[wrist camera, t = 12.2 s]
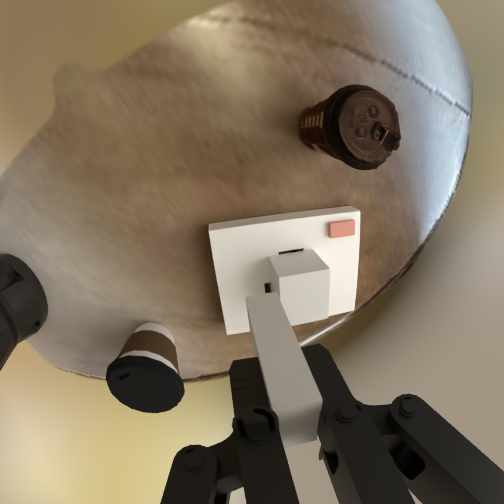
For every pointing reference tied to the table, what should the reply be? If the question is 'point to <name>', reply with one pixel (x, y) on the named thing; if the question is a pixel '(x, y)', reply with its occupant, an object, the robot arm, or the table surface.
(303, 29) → the table surface
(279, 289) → the plug
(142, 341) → the coffee cup
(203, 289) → the table surface
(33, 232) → the table surface
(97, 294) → the table surface
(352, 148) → the coffee cup
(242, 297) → the socket plate
